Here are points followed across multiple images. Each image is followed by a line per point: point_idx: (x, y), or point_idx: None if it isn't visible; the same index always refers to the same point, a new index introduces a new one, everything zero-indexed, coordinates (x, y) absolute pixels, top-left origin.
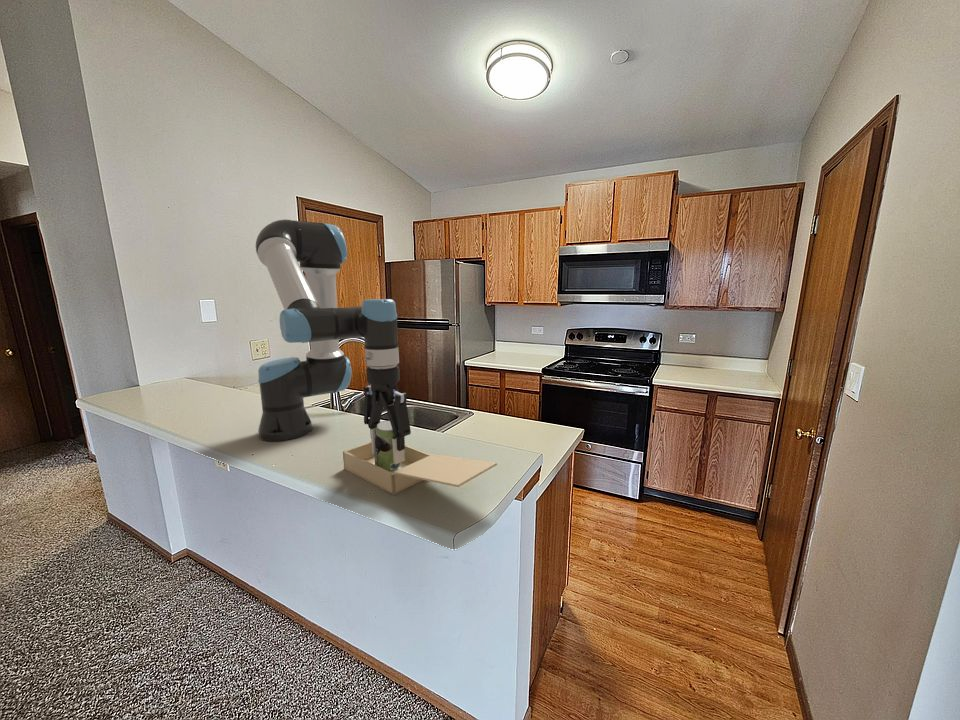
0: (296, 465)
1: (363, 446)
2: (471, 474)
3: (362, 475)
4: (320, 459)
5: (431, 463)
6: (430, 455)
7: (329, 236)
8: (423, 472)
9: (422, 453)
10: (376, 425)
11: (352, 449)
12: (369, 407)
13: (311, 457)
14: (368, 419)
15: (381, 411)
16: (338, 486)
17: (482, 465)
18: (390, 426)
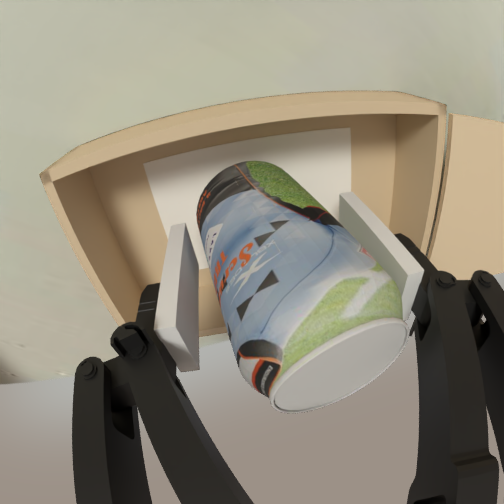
0: (74, 355)
1: (103, 281)
2: None
3: None
4: (54, 319)
5: (497, 199)
6: (454, 134)
7: None
8: (502, 253)
9: (388, 112)
10: (164, 359)
11: (125, 321)
12: (141, 498)
13: (38, 328)
14: (117, 406)
15: (217, 464)
16: None
17: None
18: (369, 360)
